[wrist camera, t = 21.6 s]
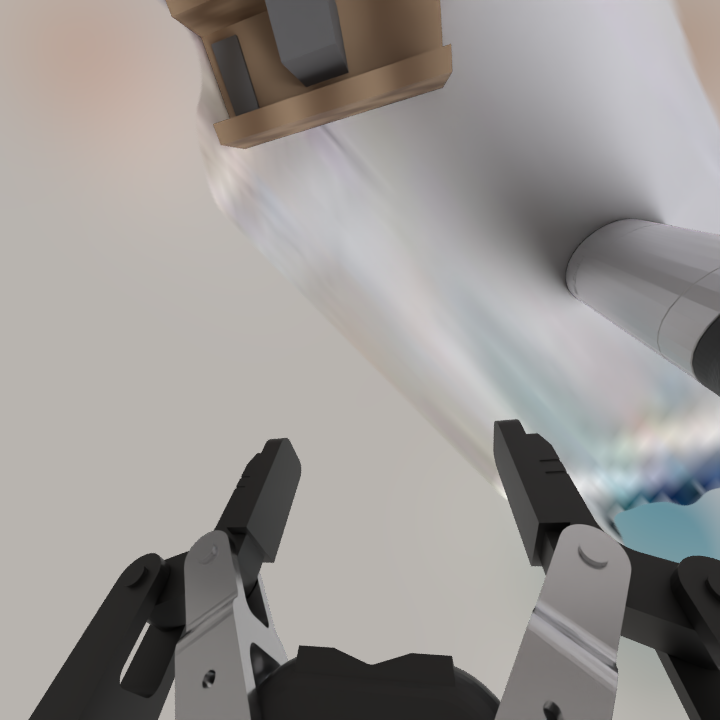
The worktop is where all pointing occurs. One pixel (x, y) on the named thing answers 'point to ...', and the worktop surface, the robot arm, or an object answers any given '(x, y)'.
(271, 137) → the wooden bookshelf
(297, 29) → the charcoal plug
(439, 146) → the worktop surface
